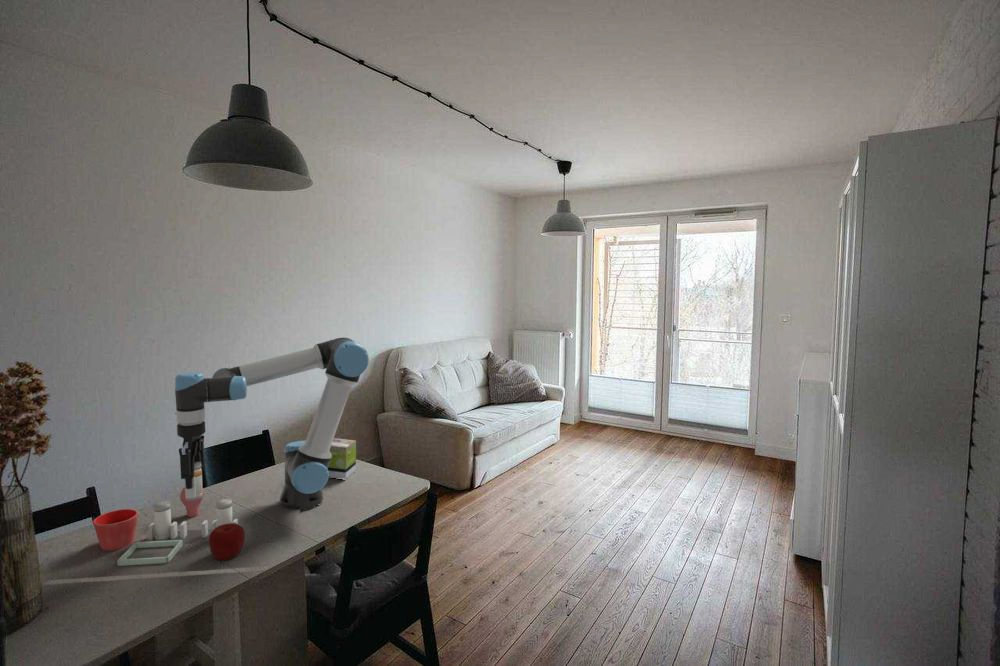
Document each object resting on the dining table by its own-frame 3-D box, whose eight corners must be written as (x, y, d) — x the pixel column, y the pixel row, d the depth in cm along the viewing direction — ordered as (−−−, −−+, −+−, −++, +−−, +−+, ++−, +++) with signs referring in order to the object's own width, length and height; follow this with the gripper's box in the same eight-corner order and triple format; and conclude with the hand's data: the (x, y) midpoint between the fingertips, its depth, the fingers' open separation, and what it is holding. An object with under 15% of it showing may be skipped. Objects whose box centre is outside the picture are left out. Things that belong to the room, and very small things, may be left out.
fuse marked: (204, 494, 165) (203, 461, 163) (199, 500, 160) (197, 466, 159) (189, 494, 164) (187, 461, 163) (183, 501, 159) (181, 467, 158)
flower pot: (101, 541, 160) (99, 511, 159) (142, 535, 165) (141, 506, 164) (89, 558, 151) (87, 527, 150) (134, 552, 155) (133, 521, 154)
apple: (221, 548, 159) (220, 517, 158) (251, 549, 159) (250, 519, 157) (202, 565, 149) (201, 532, 148) (234, 567, 149) (234, 534, 148)
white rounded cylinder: (234, 530, 168) (234, 498, 166) (230, 537, 163) (229, 504, 162) (219, 531, 167) (219, 499, 166) (214, 538, 162) (214, 505, 161)
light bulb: (193, 524, 173) (192, 490, 172) (175, 521, 174) (174, 487, 173) (209, 514, 180) (208, 481, 178) (192, 512, 181) (191, 479, 180)
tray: (183, 547, 158) (183, 539, 158) (168, 565, 149) (168, 557, 148) (135, 550, 156) (135, 542, 156) (117, 569, 146) (117, 560, 146)
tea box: (312, 477, 215) (312, 443, 214) (324, 468, 225) (324, 436, 223) (345, 481, 213) (346, 446, 211) (356, 472, 223) (356, 439, 221)
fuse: (174, 533, 164) (173, 500, 163) (168, 540, 160) (166, 507, 159) (158, 534, 164) (157, 501, 162) (152, 541, 159) (150, 507, 158)
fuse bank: (243, 530, 170) (243, 514, 169) (236, 543, 162) (235, 526, 161) (153, 535, 165) (153, 518, 164) (141, 548, 157) (140, 531, 156)
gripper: (189, 414, 167) (192, 483, 170) (164, 431, 150) (168, 507, 153) (214, 414, 168) (217, 482, 171) (192, 430, 151) (196, 505, 154)
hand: (194, 493), depth 162 cm, fingers closed on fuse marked, 4 cm apart
